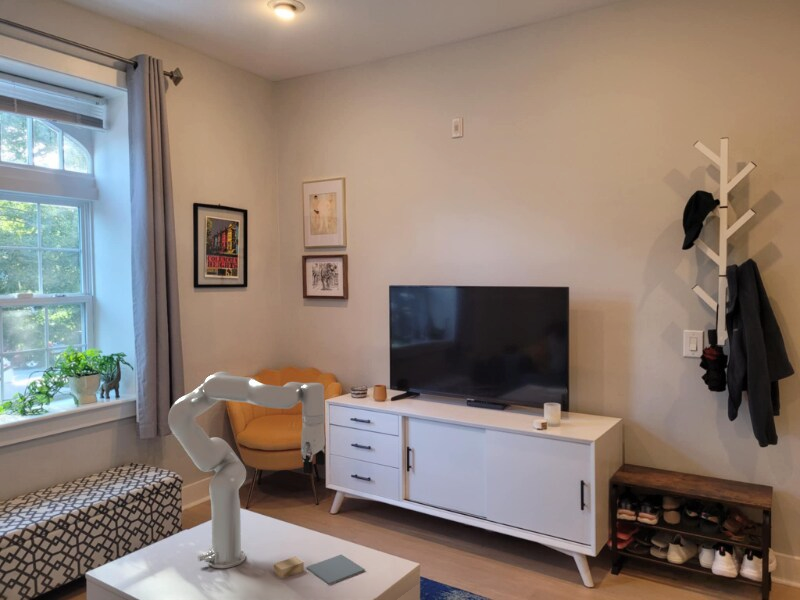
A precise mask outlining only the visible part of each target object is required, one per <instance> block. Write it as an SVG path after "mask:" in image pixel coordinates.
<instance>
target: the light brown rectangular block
mask: <svg viewBox="0 0 800 600" xmlns="http://www.w3.org/2000/svg"><path fill="white" fill-rule="evenodd" d="M302 572H304V561H302V560H301V559H300V558H298V557H297V556H293V557H289V558H287V559H284V560H281V561H278V562H275V563H273V574H275V575H277V577H279V578H280V579H281V580H283V579H285V578H288V577H291V576H293V575H297V574H299V573H302Z"/></svg>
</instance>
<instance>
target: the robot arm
mask: <svg viewBox="0 0 800 600" xmlns="http://www.w3.org/2000/svg"><path fill="white" fill-rule="evenodd" d="M220 401H228V402H229V401H230V402H239V403H248V404H251V405H255V406H259V407H263V408H270V409H271V408H272V409H280V410H281V409H283V410H284V409H285V410H287V409H292V408H294V407H295V406H297V404H299V403H301V404H302V406H301V408H302V409H301V411H302V413H301V414H302V417H301V418H302V419H301V421H302V429H301V438H300V439H301V442H300V453H301V457H302V462H303V465H302V466H303V473H304V474H309V475H310V474H313V473H314V461H312V460H313V457H314V455H315V465H320V466H321V465H322V466H323V465H325V463H326V461H325V460H326V459H325V453H326V452H325V451H326V449H325V448H326V438H325V426H324V425H325V387H324V384H323V383H320V382H298V381H289V382H286V383H285V384H284V385H283V386H282V385H272V384H264V383H262V382H259V381H258V380H257V379H255V378H253V377H248V376H239V375H238V376H237V375H232V374H231V373H229V372H227V371H218V372H215V373H213V374H211V375H209V376H208V377H206V378H205V380H204V382H203V383H202V384H200V386H198V387H197V388H195V389H194V390H193V391H191V392H189V393H188V394H185V395H183V396H181V397H179V398H178V399H176V401H175V402H174V403H172V405H171V408H170V409H169V412H168V417H167V423H168V428H169V430H170V432H171V433H172V435H174V438H176V440H177V441H178V442H179V444H180V445H181V446H182V447H183V449H184V451H185V452H186V454H187V455H188V456H189V457H190V459H191V461H192V462H193V463H194V465H195V466H196V467H197V468H198V469H199V470H200V471H202V472H206V473H208V472H212V471H215V473H214V474H213V476H212V477H211V480H210V482H209V489H208V491H209V497H210V505H211V506H210V510H211V511H210V512H211V547H210V548H209V549H208V551H207V552H206V553H205V554H199V555H197V561H198V562H203V561H204V563H207V564H208V566H209V567H211V568H215V569H229V568H233V567H236V566H238V565H240V564H242V563H244V562H245V560H246V552H245V551H244V550H242V540H241V539H242V534H241V531H242V530H241V529H242V527H241V526H242V525H241V501H240V500H241V499H240V495H239V489H241V486H242V485H243V484H244V482H245V481H246V479H247V470H246V467H245V465H244V464H243V462H242V461H241V459H240V458H239V456H238V455H237V454H236V453H235V451H234V450H233V448H232V447H231V446H230V444H229V443H228V442H227V441H226V440H224V439H223V438H220V437H214V436H213V437H209V435H208V434H207V433H206V431H205V430H204V429H203V427H202V426H200V425H199V424H198V423H197V422H196V418H197V417H199V416H201V415H202V414H204V413H205V412H206V411H208V410H209V409H210V408H211V407H213V406H214V405H216V404H217V403H218V402H220Z"/></svg>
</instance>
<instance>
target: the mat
mask: <svg viewBox="0 0 800 600" xmlns="http://www.w3.org/2000/svg"><path fill="white" fill-rule="evenodd" d="M305 568H306V570H308V571H309V572H311V573H312V574H313V575H314V576H316V577H317V578H318V579H320V580H321V581H323V582H324V583H325V584H327V585H329V586H330V585H334V584H335V583H338V582H340V581H343V580H346V579H348V578H351V577H353V576H356V575H358V574H360V573H363V572H366V569H365V568H364V567H362V566H361V565H359V564H357V563H356V562H355V561H352V560H351V559H349V558H348V557H346V556H345V555H343V554H339V555H336V556H333V557H330V558H327V559H324V560H322V561H318V562H316V563H313V564H311V565H307V566H306V567H305Z"/></svg>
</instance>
